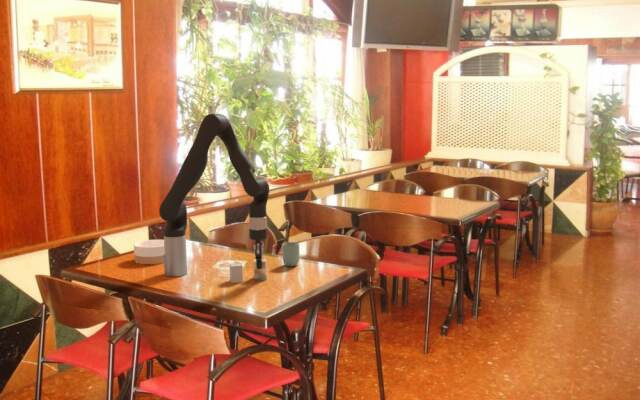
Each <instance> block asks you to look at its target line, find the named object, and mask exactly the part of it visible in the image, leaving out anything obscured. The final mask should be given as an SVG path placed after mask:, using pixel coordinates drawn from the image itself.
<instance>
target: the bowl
mask: <svg viewBox="0 0 640 400" xmlns="http://www.w3.org/2000/svg"><path fill="white" fill-rule="evenodd" d="M164 253H165V249H164V239H146V240H140V241H137V242H135V243H134V244H133V254H134V263H135V262H137V263H141V264H140V265H142V264H154V265H158V264H157V263H162V264H164ZM137 263H136V264H137Z"/></svg>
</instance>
